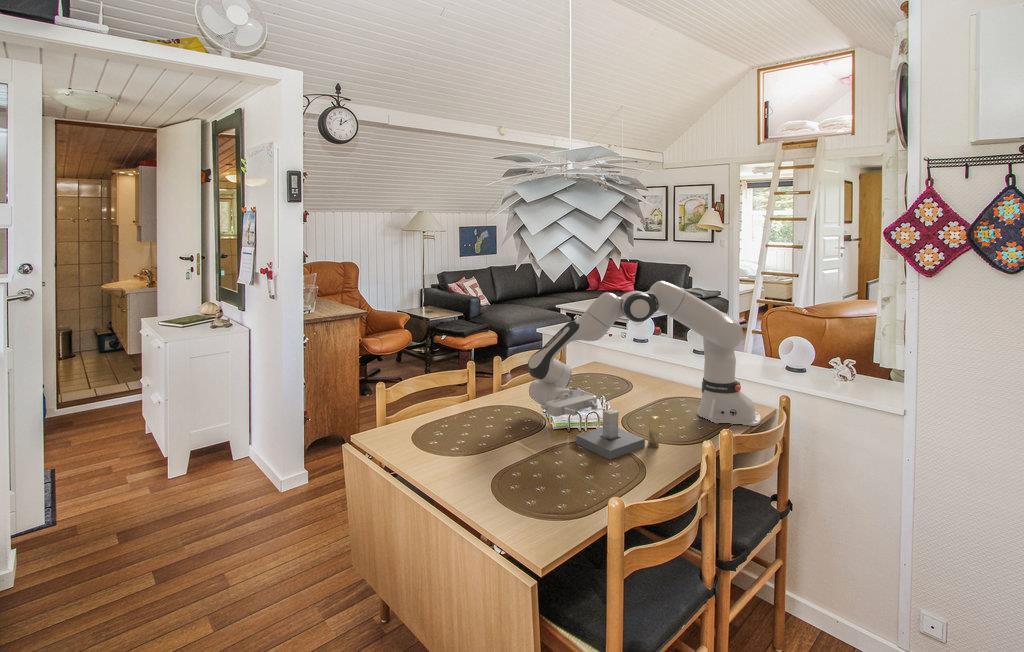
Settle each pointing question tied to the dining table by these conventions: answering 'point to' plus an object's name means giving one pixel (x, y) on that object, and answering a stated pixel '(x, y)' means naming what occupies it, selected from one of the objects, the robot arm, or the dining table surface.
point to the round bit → (653, 431)
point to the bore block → (610, 443)
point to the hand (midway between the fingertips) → (586, 410)
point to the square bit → (610, 424)
